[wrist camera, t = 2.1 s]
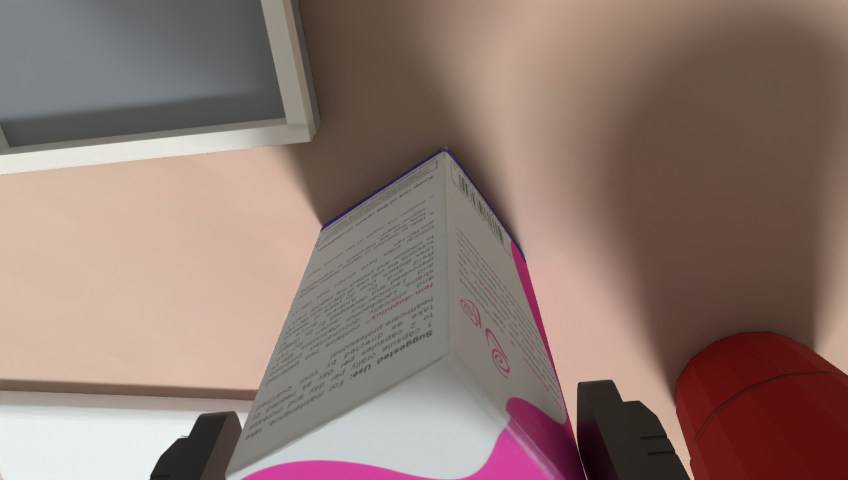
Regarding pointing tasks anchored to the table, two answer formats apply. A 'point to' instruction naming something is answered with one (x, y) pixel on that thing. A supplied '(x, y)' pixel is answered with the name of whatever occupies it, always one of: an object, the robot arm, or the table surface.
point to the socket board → (149, 80)
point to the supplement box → (412, 350)
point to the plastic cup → (763, 411)
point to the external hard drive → (95, 433)
